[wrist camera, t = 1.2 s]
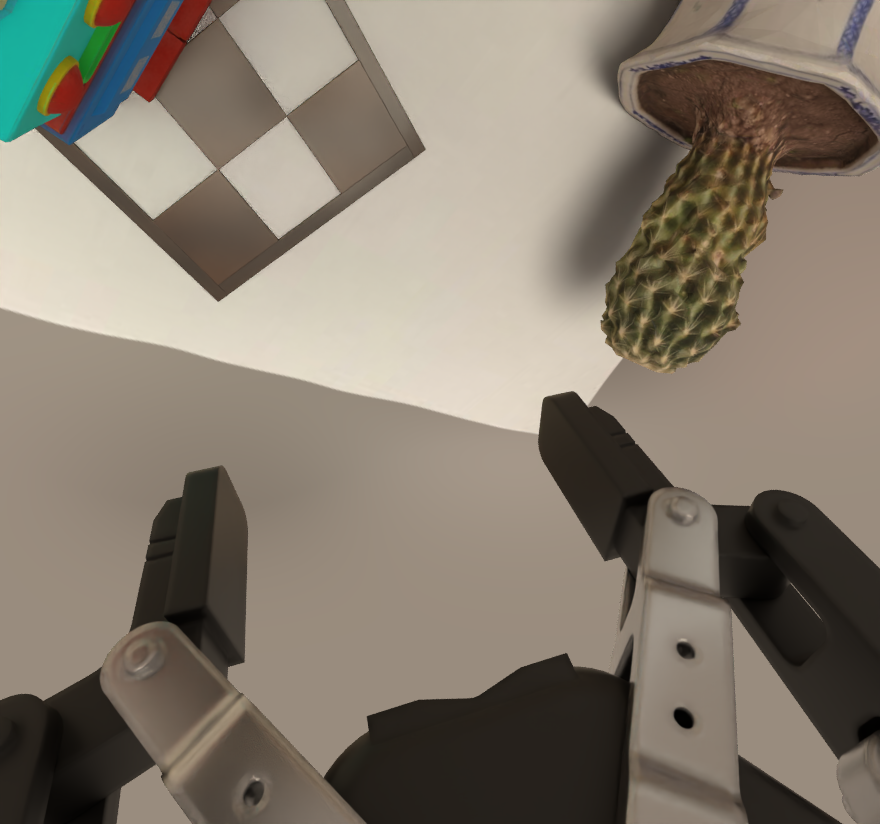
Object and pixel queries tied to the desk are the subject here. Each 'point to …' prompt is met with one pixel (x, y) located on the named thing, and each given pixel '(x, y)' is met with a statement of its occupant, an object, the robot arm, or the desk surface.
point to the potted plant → (735, 153)
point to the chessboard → (239, 125)
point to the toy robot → (85, 59)
